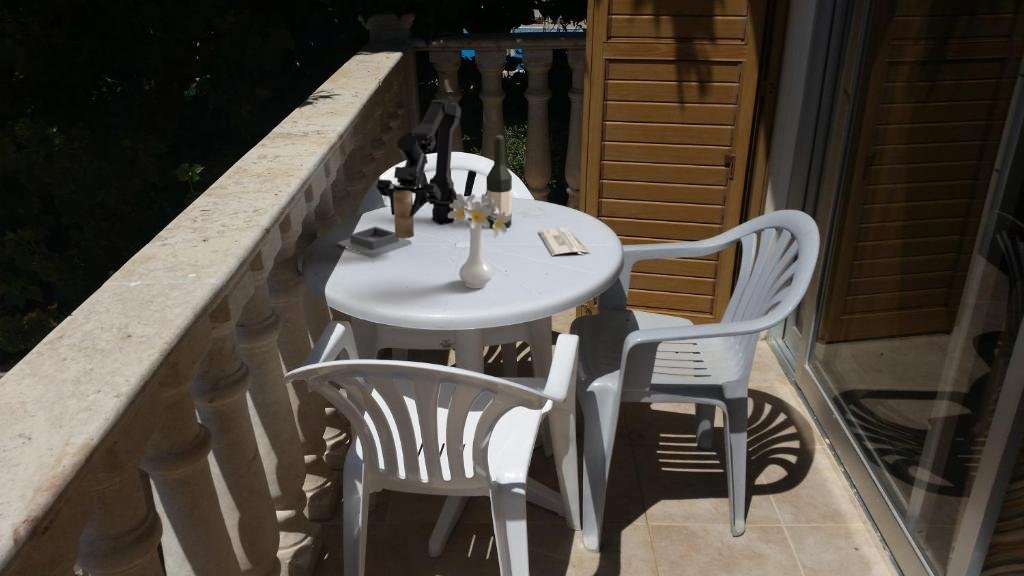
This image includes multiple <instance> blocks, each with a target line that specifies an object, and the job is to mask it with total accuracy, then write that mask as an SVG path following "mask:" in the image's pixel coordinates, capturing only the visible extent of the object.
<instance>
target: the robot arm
mask: <svg viewBox="0 0 1024 576" xmlns="http://www.w3.org/2000/svg"><path fill="white" fill-rule="evenodd" d="M461 116H462V110H461V107H460V106H459V105H458V103H452V102H448V101H446V100H439V99H433V100H431V101H430V103H429V108H428V110H427V112H426V114H425V116H424V118H423V119H422V122H421V123H420V125H419V126H416V127H414V128H413V129H412V130H411V131H406V134H404V135H402V136H401V137H399V138H398V139H397V144H396V145H397V148H398V150H399V152H400V153H401V154H402V155H401V156H403V159H404V160H406V162H405V164H404V166H402V167H401V166H395V169H394V174H393V175H394V177H393V178H394V179H397V180H396V182H397V183H398V184H399V185H398V184H394V183H393V181H392V180H391V179H382V178H381V179H378V180H377V181H376V184H375V188H376V189H377V191H378V192H379V194H380V195H381V196H383V197H388V198H389V202H390V211H391V215H392V216H394V199H393V193H394V192H395V191H400V190H407V191H411V192H412V194H414V200H413V206H412V209H411V214H410V216H411V217H413V218H414V216H415V215H416V214H417V212H418V211H420V209H421V208H423V206H424V205H425V204H427V203H428V204H429V205H432V206H433V207H432V209H431V211H432V217H431V219H430V220H431V221H432V222H434V223H437V224H438V225H446V224H451V223H452V224H453V221H454V220H455V219H456V218H448V214H449V213H450V212H451V211H455V208H451V207H450V206H449V205H450V204H452V203H453V202H454V200H457V191H456V190H455V188H454V187H455V183H454V180H453V179H452V177H451V175H450V173H451V162H452V151H453V150H452V149H453V139H454V138H453V136H454V135H453V134H454V131H455V129H456V128H457V126H458V125H459V124H460V123H459V121H460V118H461ZM437 130H438V135H437V141H436V138H435V134H436V132H437ZM436 143H437V150H436V162H435V164H436V165H435V174H434V175H433V176H432V178H430V180H429V182H424V184H422V186H421V182H422V181H424V171H425V168H426V165H427V164H428V156H427V154H426V153H425V152H432V150H433V149H434V148H435V146H436Z"/></svg>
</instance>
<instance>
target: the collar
mask: <svg viewBox="0 0 1024 576" xmlns="http://www.w3.org/2000/svg"><path fill="white" fill-rule="evenodd" d="M338 244H340V245H342V246H345V247H348V248H350V249H352V250H355V251H357V252H356V253H358V252H360V253H359V254H361V253H362V254H361V255H363V254H365V255H364V256H366V255H367V257H368V258H376V257H378V256H381V255H384V253H385V254H387V253H389V252H392V251H395V249H396V250H398V248H399V249H401V248H403V247H404V248H405V247H406V246H409V245H412V240H409V239H408V238H397V237H396V236H395V231H391V230H389V229H384V228H382V227H379V226H373V227H370V228H366V229H364V230H360V231H357V232H354V233H351V234H349V238H348V239H345V240H342V241H338V242H337V245H338ZM352 250H351V251H352ZM355 251H354V252H355Z"/></svg>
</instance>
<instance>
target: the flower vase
mask: <svg viewBox="0 0 1024 576" xmlns="http://www.w3.org/2000/svg"><path fill="white" fill-rule="evenodd" d="M456 194H457V193H456ZM475 197H476V195H475V193H474V194H471V195H469V196H468V197H467V198H466V197H465V196H464V195H463V194H461V193H458V194H457V200H454V202H453V203H452V204H450V205H449V206H450V207H451V208H454V211H451V212H450V213H449V214H448V218H454V219H455V220H454V221H453V222H452V227H453V228H455V227H456V226H457V225H458V224H459V222H461V221H464V220H465V218H466V217H467V220H466V221H467V223H468V229H469V234H470V235H469V236H470V237H469V238H470V240H469V254H468V257H467V259H466V261H465V262H464V263H463V264H462V265H461V267H460V268H459V271H458V275H459V279H460V280H461V281H462V282H464V285H465V287H466V288H470V289H475V290H476V289H477V290H478V289H483V288H485V287H487V286H488V283H489V282H490V281H491V279H492V277H493V276H494V272H493V268H492V267H491V265H490V264H489V263H488V262H487V261H486V259H485V258H484V255H483V247H482V244H483V243H482V231H483V230H482V228H483V227H484V228H490V227H489V226H490V223H489V222H488V220H487V219H491V220H493V221H494V224H493V226H492V227H493V228H494V229H493V239H496V238H497V237H498V234H499V232H501V233H502V234H506V232H507V229H508V228H506V226H505V225H504V224H503V223H506V222H508V221H509V220H510V219H511V220H512V217H513V216H512V215H511V216H507V217H504V216H505V212H503V213H502V214H501V215H500V216H499V215H498V214H499V210H498V208H497V207H496V205H497V204H496V202H493V199H492V201H491V202H489V203H487V195H486V194H484V193H482V194H481V198H480V199H481V200H480V201H478V200H475V201H474V199H475ZM473 201H474V202H473ZM488 216H491V217H493V218H495V219H496V220H494V219H493V218H490V217H488Z"/></svg>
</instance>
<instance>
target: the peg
mask: <svg viewBox="0 0 1024 576" xmlns="http://www.w3.org/2000/svg"><path fill="white" fill-rule="evenodd" d="M393 199H394V215H393V216H394V232H395V236H396V237H397V238H404V239H410V238H413V237H414V236H415V232H414V231H415V226H414V225H415V224H414V216H413V217H411V216H410V214H411V209H412V206H413V203H414V200H413V193H412V192H411V191H407V190H400V191H395V192H394V193H393Z"/></svg>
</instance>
